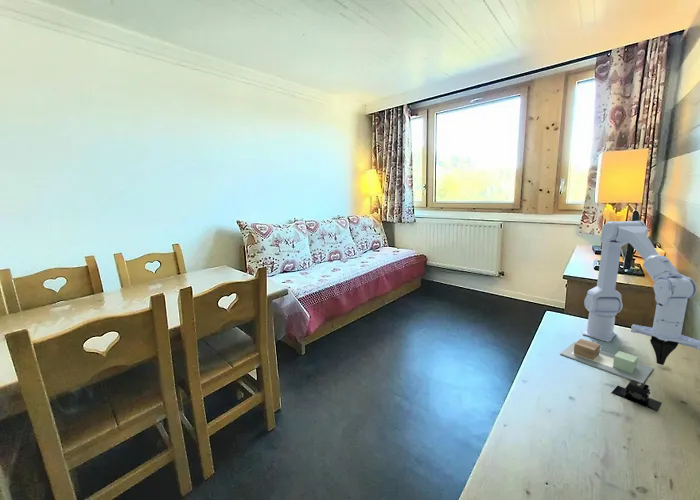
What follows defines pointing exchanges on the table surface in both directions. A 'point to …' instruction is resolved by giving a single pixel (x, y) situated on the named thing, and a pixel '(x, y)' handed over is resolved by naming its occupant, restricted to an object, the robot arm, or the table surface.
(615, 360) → the green block
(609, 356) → the plate
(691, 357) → the table surface
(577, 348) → the walnut block
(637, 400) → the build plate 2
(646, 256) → the robot arm
